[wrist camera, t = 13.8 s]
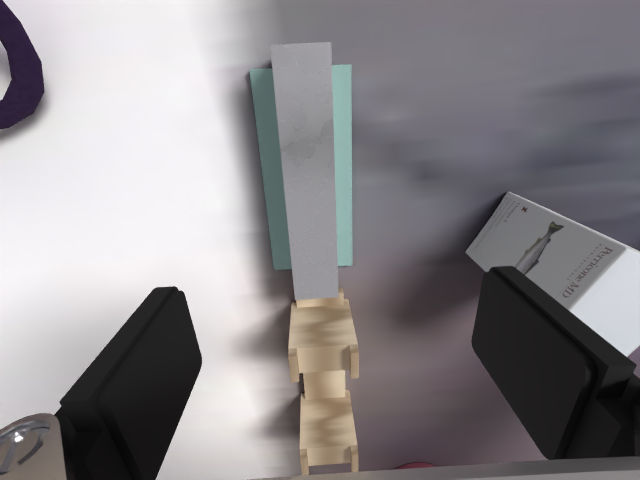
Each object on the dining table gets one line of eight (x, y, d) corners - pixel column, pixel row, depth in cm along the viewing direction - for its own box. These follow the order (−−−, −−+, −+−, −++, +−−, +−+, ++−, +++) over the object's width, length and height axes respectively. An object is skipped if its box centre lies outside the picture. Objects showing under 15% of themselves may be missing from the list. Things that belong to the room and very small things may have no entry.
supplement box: (506, 188, 30) (632, 243, 18) (563, 218, 31) (713, 286, 20) (461, 251, 32) (547, 334, 21) (516, 276, 34) (624, 366, 22)
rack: (347, 287, 34) (359, 338, 26) (349, 414, 42) (358, 480, 34) (290, 290, 33) (286, 343, 26) (303, 417, 42) (302, 484, 34)
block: (275, 53, 24) (270, 45, 20) (327, 51, 24) (331, 41, 20) (296, 277, 32) (295, 300, 28) (334, 275, 32) (338, 297, 29)
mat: (350, 65, 25) (351, 64, 24) (351, 262, 32) (352, 265, 32) (250, 70, 25) (249, 69, 24) (274, 267, 32) (273, 270, 32)
